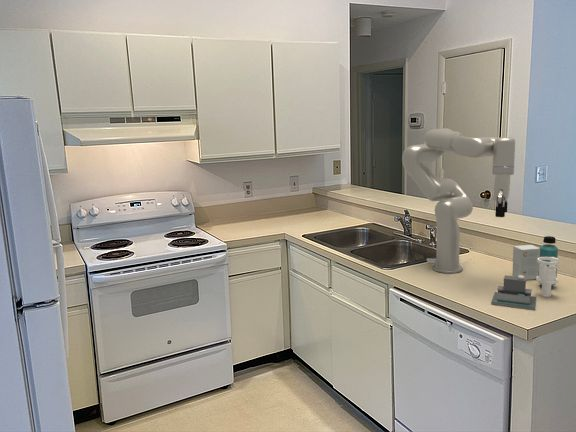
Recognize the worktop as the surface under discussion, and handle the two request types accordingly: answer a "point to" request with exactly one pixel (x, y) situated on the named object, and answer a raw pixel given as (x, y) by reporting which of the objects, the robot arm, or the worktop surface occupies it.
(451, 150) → the robot arm
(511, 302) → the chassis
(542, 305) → the worktop surface
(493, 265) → the worktop surface
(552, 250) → the beverage bottle
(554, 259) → the clear white hollow cylinder
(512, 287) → the lever
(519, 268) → the small box
